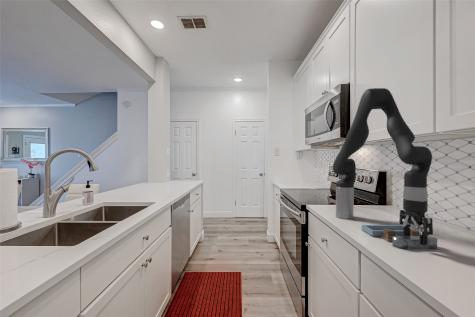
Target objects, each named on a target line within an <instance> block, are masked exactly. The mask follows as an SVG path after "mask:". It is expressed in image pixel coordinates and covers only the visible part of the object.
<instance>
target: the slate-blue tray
mask: <svg viewBox="0 0 475 317" xmlns="http://www.w3.org/2000/svg"><path fill="white" fill-rule="evenodd" d="M409 228H410V229H414V228H413V227H409ZM383 229H392V230H394V231H395V236H404V234H403V229H404V228H403V226H402V225H400V224H361V231H362V232H363V233H365V234H367V235H369V236H371V237H372V238H381V236H383Z"/></svg>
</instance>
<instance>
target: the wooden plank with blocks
mask: <svg viewBox="0 0 475 317" xmlns="http://www.w3.org/2000/svg"><path fill="white" fill-rule="evenodd" d="M420 235H421V234H420V233H419V230H418V229H415V228H413V229H410V236H420ZM392 236H395V231H394V230H392V229H383V236H381V237H380V238H381V239H382V240H383V241H386V242H388V243H389V242H390V243H392Z"/></svg>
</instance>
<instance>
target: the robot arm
mask: <svg viewBox="0 0 475 317" xmlns="http://www.w3.org/2000/svg"><path fill="white" fill-rule="evenodd" d="M359 100H360V101H359V102H358V103H359V104H358V106H357V108H356V112H355V116H354V118H353V121H352V124H351V126H350V127H349V130H348V132H347V134H346V137H345V139H344V142H343V144H342V146H341V148H340V150H339V153H338V154H337V156H336V157H335V160H334V161H333V164H332V171H333V173H334V174H335V175H339V176H340V175H341V176H343V178H342V179H339V180H337V181H336V182H335V217H336V218H339V219H344V220H351V219H354V208H355V205H354V203H355V202H354V201H355V193H354V192H355V190H354V189H355V188H354V187H355V183H356V182H355V181H356V168H357V167H356V161H355V160H354V159H353V158H351V156H352V155H354V154H355V153H356V152H358V151H359V150H360V149H362V148H363V147H364V145H365V143H366V141H367V140H368V137H369V135H370V129H369V125H368V118H369V115H370V113H371V112H372V110H381V111H383V113H384V114H385V115H386V129H387V130H386V131H387V133H388V135H389V136H390V138H391V139H392V141H393V142H394V144H395V149H396V152H397V155H398V158H399V159H400V161H401V162H402V163H404V164H405V165H409V166H410V165H411V169H410V170H407V171H405V173H404V175H403V192H402V193H403V194H402V195H403V196H402V198H403V200H402V201H403V202H402V208H403V209H400V210H399V222H398V223H399V225H402V226H403V228H404V229H403V234H404V236H410V228H412V227H411V226H414V227H415V228H416V229H415V230H418V231H419V233H420V245H427V236H432V235H434V227H433V226H434V224H433V218H432V217H426V213H427V212H428V208H429V206H428V202H429V201H428V197H429V196H428V195H429V194H428V174H429V172H430V168H431V164H432V162H433V161H432V160H433V155H432V151H431V150H430V148H428V147H427V146H422V145H421V146H419V145H414V144H413V143H414V141H415V140H416V136H415V135H414V133H413V132H412V130H411V128H410V127H409V125H408V124H407V123H406V122H405V120H404V118H403V116H402V114H401V112H400V109H399V108H398V106H397V103H396V101H395V98H394V96H393V93H392V92H391V91H390V90H389V89H388V88H385V87H384V88H383V87H381V88H380V87H375V88H374V87H373V88H367V89H366V90H365V91H363V93H362V95H361V96H360V99H359ZM409 227H410V228H409Z"/></svg>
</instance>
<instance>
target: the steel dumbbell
mask: <svg viewBox="0 0 475 317" xmlns="http://www.w3.org/2000/svg"><path fill="white" fill-rule="evenodd" d="M391 246H392V247H394V248H396V249H399V250H408V249H409V250H415V249H417V250H425V249H427V250H437V249H438V238H436V237H434V236H432V235H428V236H427V245H420V236H392V242H391Z"/></svg>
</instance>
